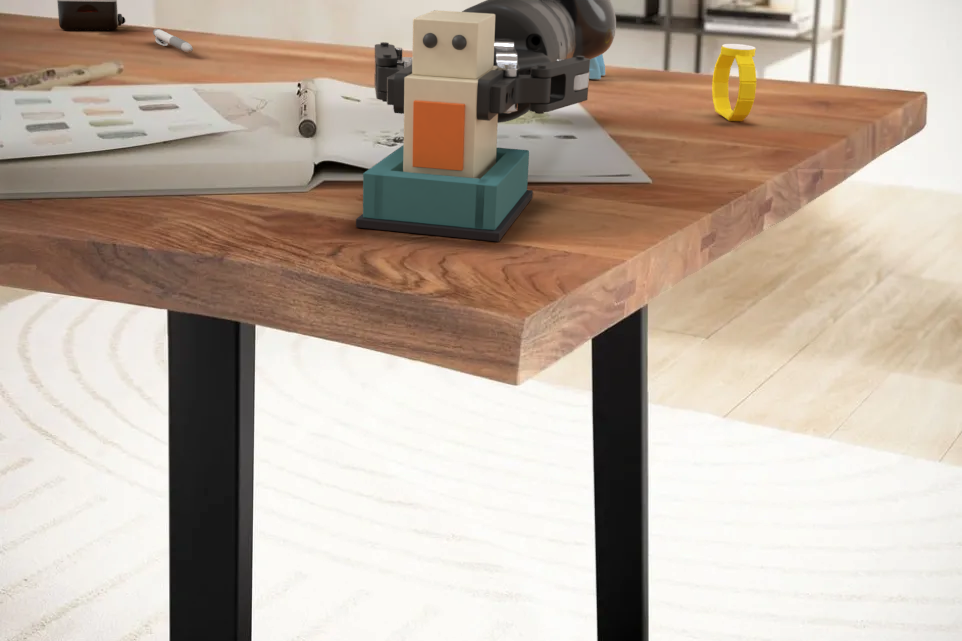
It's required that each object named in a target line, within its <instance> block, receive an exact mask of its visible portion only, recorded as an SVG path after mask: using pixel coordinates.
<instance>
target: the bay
mask: <svg viewBox="0 0 962 641" xmlns="http://www.w3.org/2000/svg"><path fill="white" fill-rule="evenodd" d="M403 156H404V144H403V145H401V146H400V147H398V148H397V149H395V150H394V151H393V152H391V153H390V154H389V155H387V156H386V157H384V158H383V159H382V160H380V161H379V162H378V163H375V165H373V166H371V167H370V168H368V169H367V170H366V171H364V172H363V173H362V183H363V184H362V213H361V214H360V215H359V216H358V217H357V218H356V219H355V227H356V228H358V229H359V228H360V229H366V230H367V229H370V230H379V231H387V232H388V231H389V232H398V233H407V234H417V235H428V236H437V237H438V236H439V237H446V238H447V237H448V238H458V239H467V240H478V241H486V242H487V241H488V242H495V243H496V242H497V243H499V242H500V240H501V239H502V238H503V237H504V236H505V234H506V233H507V232H508V230H509V229H510V228H511V227H512V225H513V224H514V222H515V221H516V220H517V219H518V217H519V216H520V215H521V213H522V212H523V211H524V209H525V208H526V207H527V205H528V204H529V203H530V201H532V199H533V196H534V195H533V194H534V190H533V189H528V183H529V182H528V180H529V162H530V150H528V149H518V148H507V147H497V149H496V164H495V165H494V166H493V167H492V168H491V169H490V170H489V171H488V172H487V173H486V174H485V175H484V176H483V177H482V178H481V179H478V178H467V177H456V176H445V175H434V174H423V173H412V172H403Z"/></svg>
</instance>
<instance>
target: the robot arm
mask: <svg viewBox="0 0 962 641" xmlns="http://www.w3.org/2000/svg"><path fill="white" fill-rule="evenodd" d="M461 12H471V13H488V14H495V38H494V65H493V66H497V70H491V71H489V72H488V73H486V74H485V75H483V76H482V77H481V78H479V79H478V87H477V119H478V120H487V121H490V120H491V119H492V118H493V117H494V116H496V115H497V114H498V123H497V124H499V123H500V124H501V123H505V122H511V121H513V120H515V119H518V118H520V117H522V116H523V115H525V114H527V113H529V111H530V112H532V113H533V112H534V114H538V115H542V114H545V113H550V112H553V111H556V110H559V109H563V108H566V107H569V106H573V105H576V104H579V103H582V102H586V101H588V99H589V97H588V96H589V86H590V79H589V73H590V72H589V69H590V59H592V58H595V57H598V56H599V55H601V54H602V55H603V54H604V53H606V52H607V51H608V50H609V49H610V47H611V46H612V44H613V43H614V39H615V36H616V31H617V16H616V13H615V8H614V5H613V3H612V1H611V0H484V1H481V2H479V3H477V4H475V5H472V6H470V7H467V8H466V9H464V10H461ZM410 74H412V56H403V48H402V47H396V46H395V45H394V44H392V43H391V44H389V42H386V41H385V42H383V41H382V42H380V43H377V44H374V83H373V84H374V91H375V98H376V100H379V101H382V102H384V103H386V105H387V106H393V113H394V114H401V115H404V78H405V77H406V76H408V75H410Z"/></svg>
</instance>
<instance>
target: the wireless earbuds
mask: <svg viewBox="0 0 962 641" xmlns="http://www.w3.org/2000/svg"><path fill="white" fill-rule="evenodd" d="M56 2H57V3H56V4H57V16H58V25H59V28H60V29H61V30H62V31H102V32H103V31H104V32H105V31H109V32H110V31H112V32H113V31H116V30H117V29H118V28H119V27H122V25H124V24H125V23H126V22H127V20H126V18H125V17H124V16H123V14H122V13H119V12H118V0H56Z"/></svg>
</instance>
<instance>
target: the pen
mask: <svg viewBox="0 0 962 641" xmlns="http://www.w3.org/2000/svg"><path fill="white" fill-rule="evenodd" d="M152 35H153V36H154V37H155V43H157V44H158V45H161V46H164V47H165V46H166V47H168V46H172V47H174V48H176V49H178V50H179V51H182V52H184V53H192V52H193V50H194V48H193V46H192V44H190V42H188V41H187V40H184V39H182V38H180V37H178V36H175V35H173V34H170V33H168V32H166V31H164V30H162V29H160V28H154V29H153V31H152Z"/></svg>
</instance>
